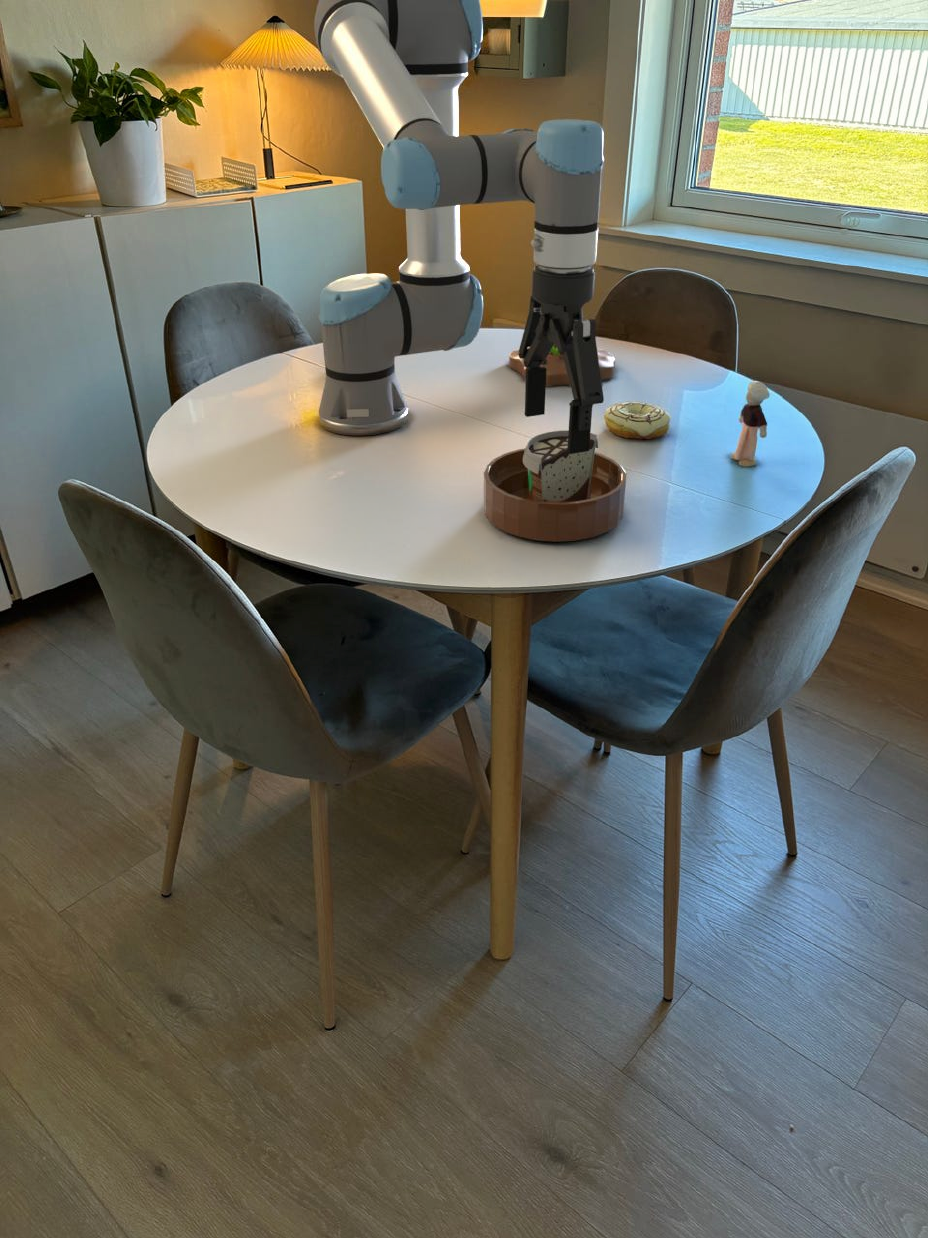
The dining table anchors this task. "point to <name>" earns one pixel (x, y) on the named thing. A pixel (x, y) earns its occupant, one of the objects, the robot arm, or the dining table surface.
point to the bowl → (552, 519)
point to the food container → (558, 468)
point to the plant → (562, 366)
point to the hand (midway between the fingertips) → (555, 432)
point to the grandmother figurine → (751, 424)
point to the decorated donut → (637, 420)
